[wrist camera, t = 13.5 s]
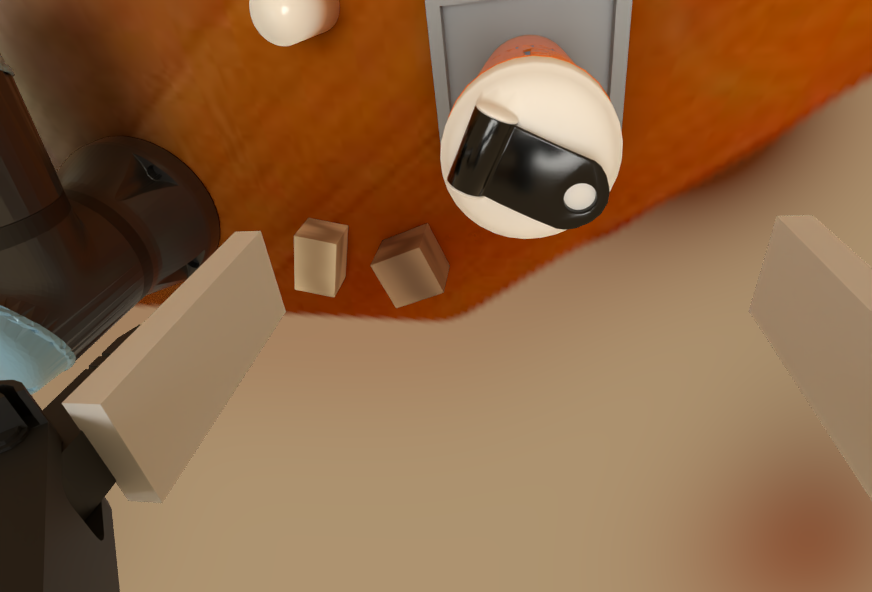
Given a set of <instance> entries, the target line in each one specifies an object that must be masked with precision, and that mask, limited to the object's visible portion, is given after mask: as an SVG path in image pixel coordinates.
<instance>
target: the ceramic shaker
mask: <svg viewBox="0 0 872 592" xmlns="http://www.w3.org/2000/svg"><path fill="white" fill-rule="evenodd" d="M249 8H250V14H251V18H252V21H253V23H254V25H255V27H256V29H257V30H258V32H259V33H260V34H261V35H262V36H263V37H264V38H265V39H266V40H268V41H269V42H271V43H273V44H275V45H278V46H290V45H293V44H296V43H298V42H301V41H303V40H306V39H308V38H311V37H313V36H316V35H318V34H321V33H324V32H326V31H328V30H330V29H331V28H332V27H333V26H334V25H335V23H336V22H337V20H338V17H339V12H340V3H339V0H250V2H249Z"/></svg>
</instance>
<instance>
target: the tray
mask: <svg viewBox="0 0 872 592" xmlns="http://www.w3.org/2000/svg"><path fill="white" fill-rule="evenodd" d="M425 7H426V16H427V25H428V34H429V43H430V52H431V61H432V71H433V80H434V89H435V98H436V107H437V116H438V126H439V135H440V144H441V140H442V136H443V133H444V129H445V125H446V123H447V120H448V116H449V114H450V112H451V110H452V108H453V106H454V103H455V101H456V100H457V98H458V97H459V95H460V94H461V93H462V91H463V90H464V89H465V87H466V86H467V85H468V84H469V83H470V82H471V81H472V80H474V79H475V78H476V77H477V76H478V74H479V73H480V71H481V70H482V68H483V66H484V65H485V63H486V62H487V60H488V59H489V57H490V56H491V55H492V53H493V52H494V51H495V50H496V49H497V48H498V47H499V46H500V45H502V44H503V43H505V42H506V41H508V40H510V39H512V38H515V37H518V36H523V35H539V36H542V37H545V38H548V39H550V40H551V41H553V42H555V43H556V44H557V45H558V46H559V47H561V48H562V49H563V51H564V52H565V53H566V54H567V55H568V56H569V57H570V59H571V60H572V61H573V62H574V63H575V64H576V65H577V66H579V67H581V68H582V69H584V70H586V71H587V72H588V73H589V74H590V75H591V76H592V77H593V78H595V79H596V80H597V81H598V82H599V83H600V85H601V86H602V88H603V89H604V91H605V92H606V94H607V95H608V96H609V98H610V101H611V103H612V105H613V107H614V109H615V112H616V114H617V117H618V119H619V122H620V126H621V132H622V120H623V107H624V95H625V83H626V71H627V59H628V47H629V35H630V22H631V10H632V0H425Z"/></svg>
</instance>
